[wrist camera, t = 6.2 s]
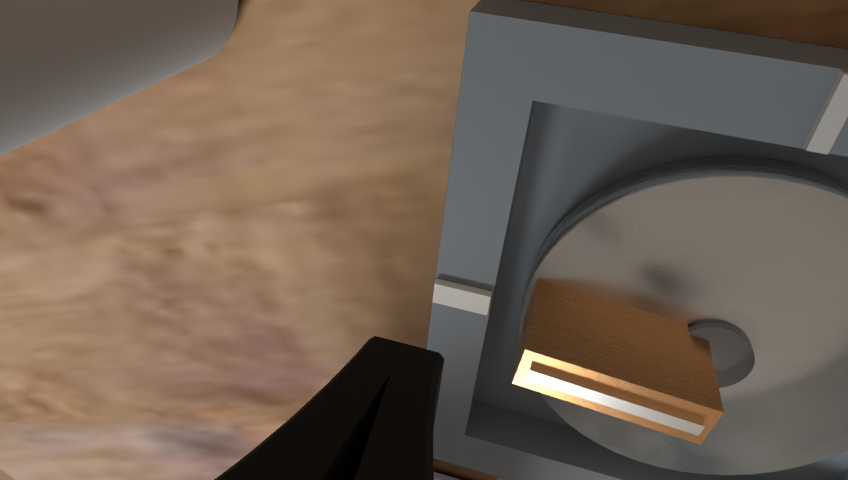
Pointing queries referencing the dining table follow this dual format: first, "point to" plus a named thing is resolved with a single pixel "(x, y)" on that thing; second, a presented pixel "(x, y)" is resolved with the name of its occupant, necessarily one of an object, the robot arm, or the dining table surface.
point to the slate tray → (592, 192)
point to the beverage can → (95, 55)
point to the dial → (698, 317)
